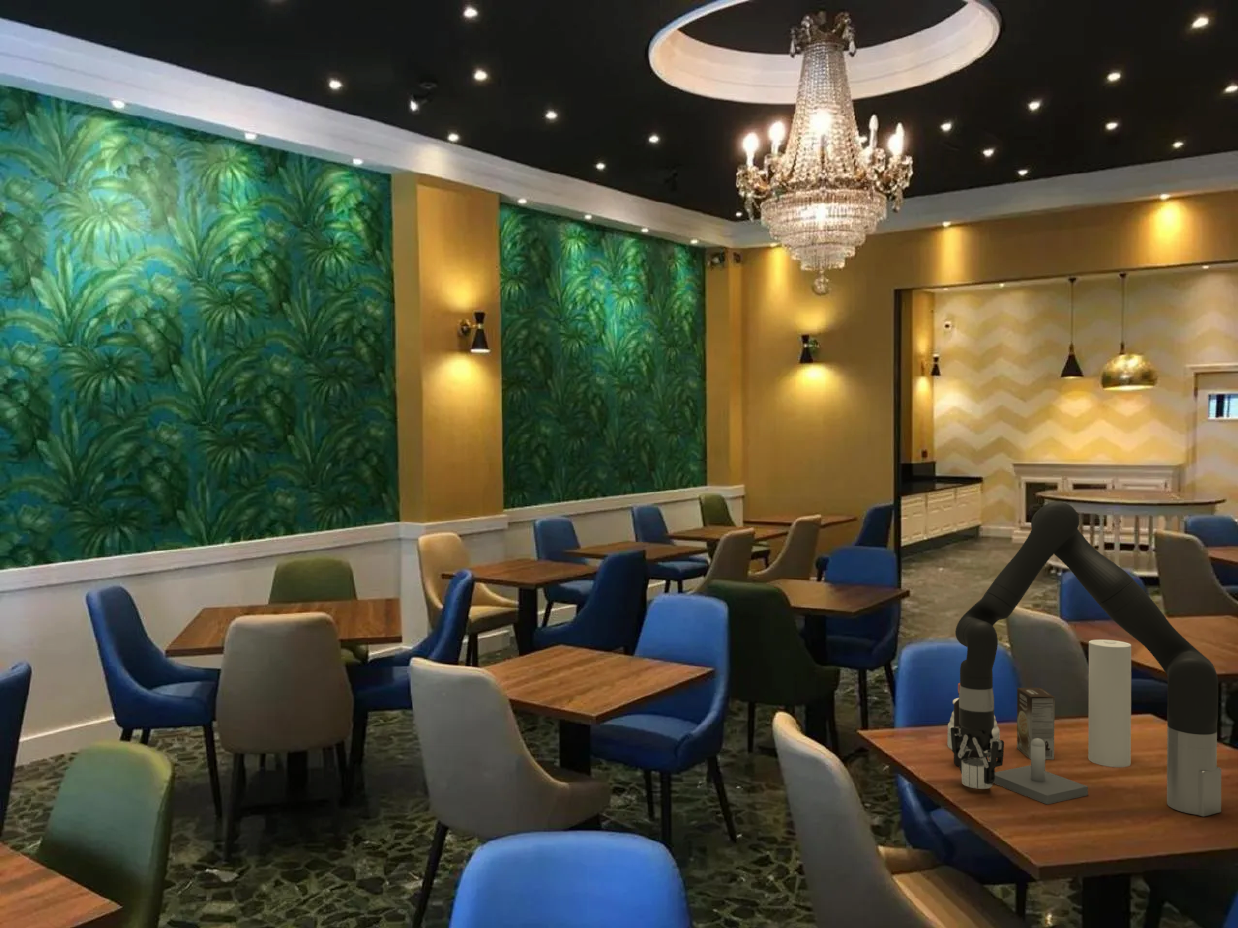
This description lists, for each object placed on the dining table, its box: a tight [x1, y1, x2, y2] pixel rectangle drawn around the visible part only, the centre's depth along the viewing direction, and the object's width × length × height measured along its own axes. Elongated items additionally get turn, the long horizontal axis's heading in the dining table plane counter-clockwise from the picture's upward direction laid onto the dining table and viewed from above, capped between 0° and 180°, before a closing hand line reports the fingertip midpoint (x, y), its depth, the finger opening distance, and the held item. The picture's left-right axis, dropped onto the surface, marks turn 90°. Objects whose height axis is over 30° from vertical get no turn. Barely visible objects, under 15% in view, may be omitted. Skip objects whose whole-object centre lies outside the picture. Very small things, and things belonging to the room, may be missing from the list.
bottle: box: [953, 682, 982, 768], centre depth 235 cm, size 7×7×20 cm
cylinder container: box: [1087, 639, 1132, 768], centre depth 238 cm, size 9×9×30 cm
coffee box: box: [1016, 687, 1056, 760], centre depth 243 cm, size 9×6×16 cm
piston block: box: [992, 738, 1089, 805], centre depth 219 cm, size 16×13×12 cm
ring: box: [961, 758, 993, 790], centre depth 218 cm, size 6×6×5 cm
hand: (976, 778), depth 218 cm, fingers closed on ring, 6 cm apart
